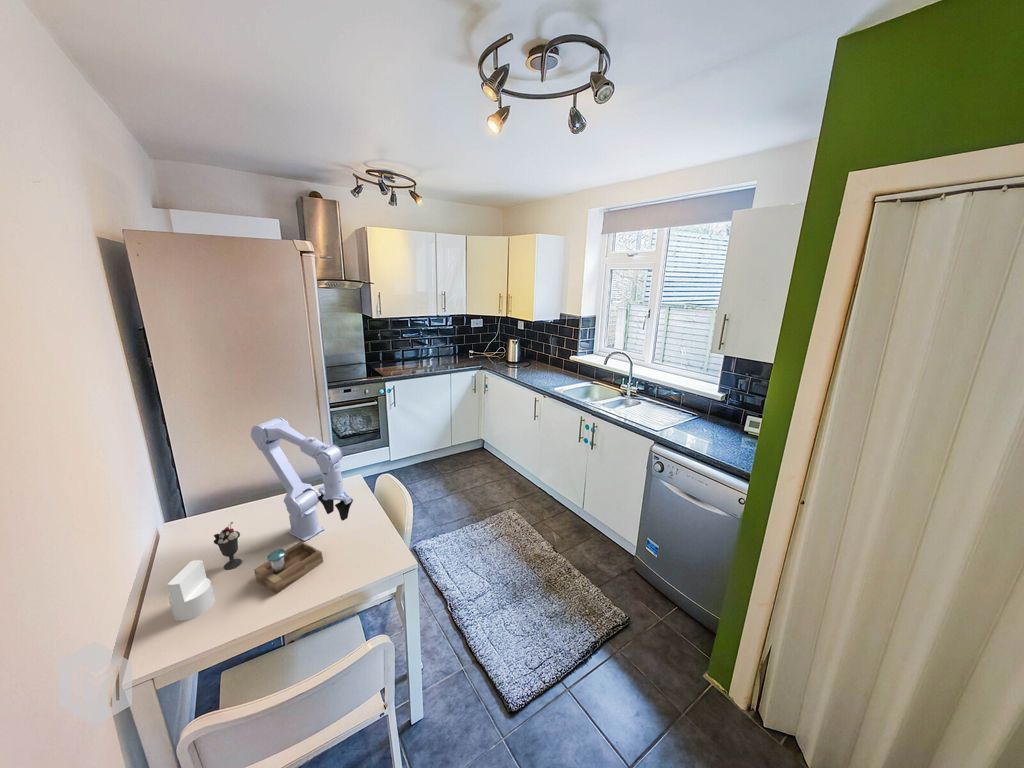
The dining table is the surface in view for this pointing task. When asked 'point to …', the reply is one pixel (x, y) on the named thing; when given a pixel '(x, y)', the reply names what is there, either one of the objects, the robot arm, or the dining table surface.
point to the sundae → (228, 546)
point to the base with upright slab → (190, 592)
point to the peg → (277, 561)
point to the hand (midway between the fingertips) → (337, 515)
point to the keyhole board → (290, 567)
